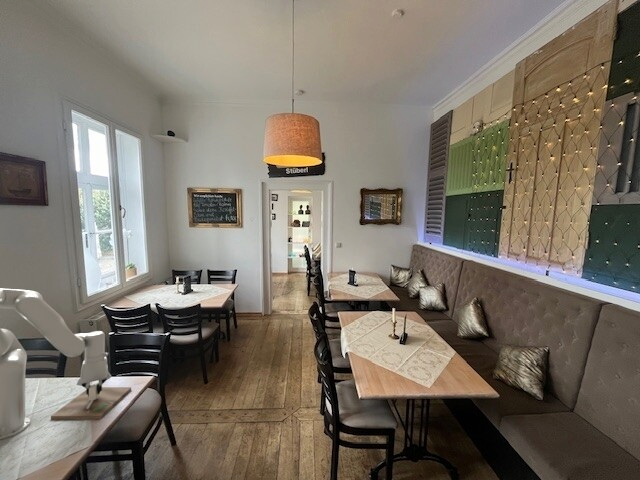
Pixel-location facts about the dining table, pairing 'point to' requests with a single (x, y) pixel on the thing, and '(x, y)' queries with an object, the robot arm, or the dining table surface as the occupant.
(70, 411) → the panel
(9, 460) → the dining table surface
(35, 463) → the dining table surface
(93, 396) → the peg knob
